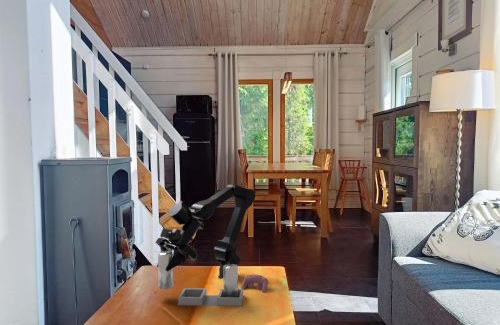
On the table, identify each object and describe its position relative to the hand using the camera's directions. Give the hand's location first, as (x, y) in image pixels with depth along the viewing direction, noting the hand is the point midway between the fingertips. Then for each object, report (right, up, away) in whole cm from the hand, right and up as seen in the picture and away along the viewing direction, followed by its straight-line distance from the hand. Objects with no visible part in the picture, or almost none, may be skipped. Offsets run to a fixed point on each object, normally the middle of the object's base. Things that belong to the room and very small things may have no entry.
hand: (162, 269), depth 126 cm
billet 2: (+24, -11, -1) cm, 26 cm away
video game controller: (+33, -11, +10) cm, 36 cm away
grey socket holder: (+18, -12, -1) cm, 21 cm away
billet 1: (+1, -7, +1) cm, 7 cm away
